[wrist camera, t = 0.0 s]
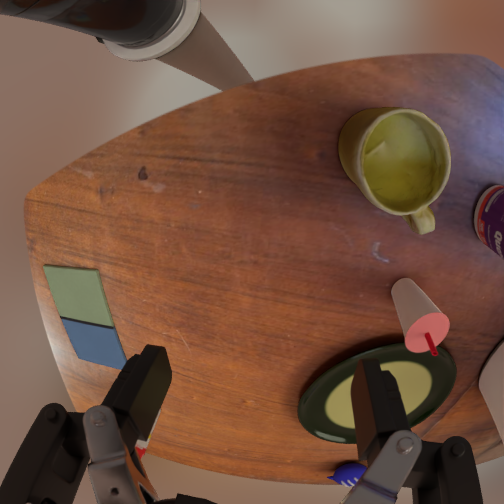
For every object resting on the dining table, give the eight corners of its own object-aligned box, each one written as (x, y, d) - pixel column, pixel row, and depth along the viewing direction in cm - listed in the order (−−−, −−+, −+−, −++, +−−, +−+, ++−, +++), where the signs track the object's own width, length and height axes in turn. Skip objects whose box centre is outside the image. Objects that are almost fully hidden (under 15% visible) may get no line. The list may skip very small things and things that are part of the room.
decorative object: (326, 487, 48) (368, 473, 46) (322, 467, 53) (362, 454, 52) (335, 495, 52) (373, 483, 50) (332, 478, 57) (368, 465, 56)
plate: (278, 357, 40) (277, 370, 38) (461, 309, 33) (468, 319, 31) (312, 444, 50) (312, 453, 48) (441, 411, 43) (444, 420, 41)
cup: (378, 305, 35) (405, 373, 24) (390, 268, 32) (427, 331, 21) (413, 308, 34) (446, 371, 23) (426, 273, 32) (469, 331, 21)
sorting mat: (44, 264, 39) (42, 266, 38) (98, 269, 37) (95, 271, 37) (80, 356, 47) (78, 358, 46) (130, 369, 46) (128, 371, 45)
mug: (305, 113, 25) (368, 123, 16) (386, 92, 25) (456, 101, 17) (332, 221, 31) (386, 268, 23) (401, 191, 32) (460, 224, 23)
